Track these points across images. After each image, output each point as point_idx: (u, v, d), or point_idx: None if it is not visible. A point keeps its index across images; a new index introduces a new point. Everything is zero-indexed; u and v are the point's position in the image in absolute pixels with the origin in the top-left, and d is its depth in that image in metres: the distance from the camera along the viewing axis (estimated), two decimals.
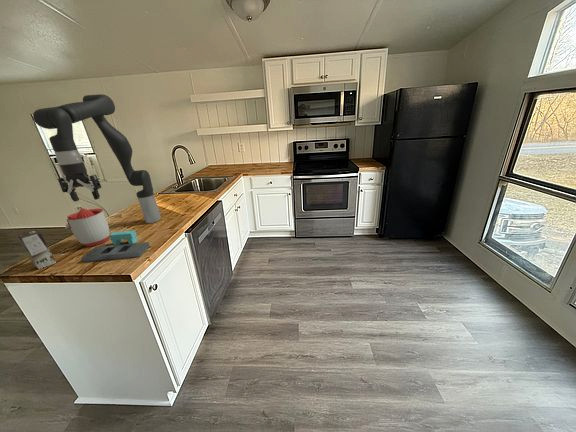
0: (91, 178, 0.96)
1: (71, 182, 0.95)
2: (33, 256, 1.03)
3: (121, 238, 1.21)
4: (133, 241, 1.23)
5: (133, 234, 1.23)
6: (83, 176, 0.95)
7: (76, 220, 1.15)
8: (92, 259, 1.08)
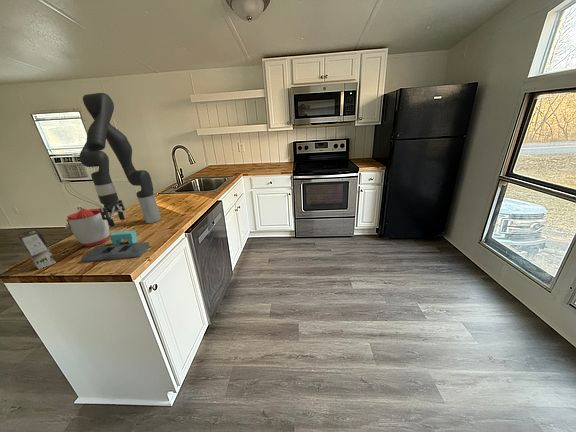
0: (121, 202, 1.22)
1: (113, 208, 1.15)
2: (33, 256, 1.03)
3: (121, 238, 1.21)
4: (133, 241, 1.23)
5: (133, 234, 1.23)
6: (117, 201, 1.19)
7: (76, 220, 1.15)
8: (92, 259, 1.08)
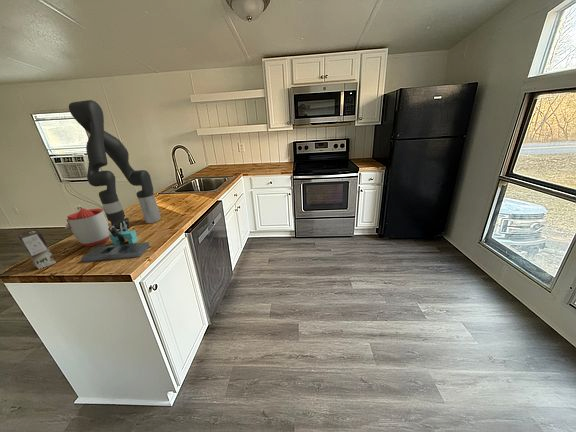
0: (127, 220, 1.26)
1: (121, 225, 1.19)
2: (33, 256, 1.03)
3: None
4: (133, 241, 1.23)
5: (133, 234, 1.23)
6: (123, 218, 1.23)
7: (76, 220, 1.15)
8: (92, 259, 1.08)
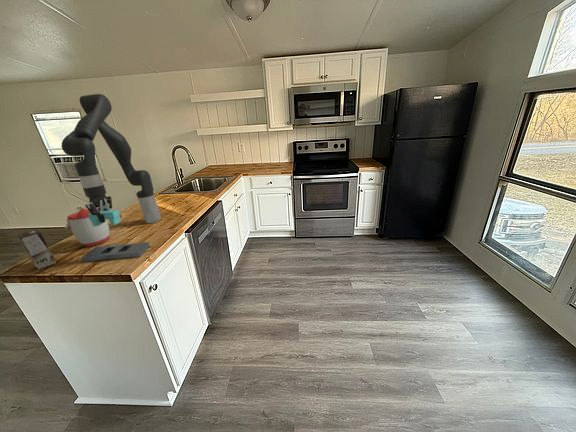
0: (110, 198, 1.12)
1: (101, 203, 1.05)
2: (33, 256, 1.03)
3: None
4: (115, 222, 1.09)
5: (116, 213, 1.09)
6: (105, 195, 1.09)
7: (76, 220, 1.15)
8: (92, 259, 1.08)
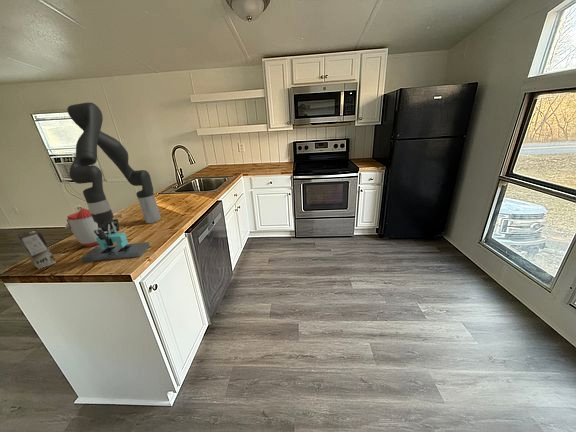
0: (117, 221, 1.13)
1: (109, 227, 1.07)
2: (33, 256, 1.03)
3: None
4: (123, 245, 1.11)
5: (123, 236, 1.11)
6: (112, 219, 1.11)
7: (76, 220, 1.15)
8: (92, 259, 1.08)
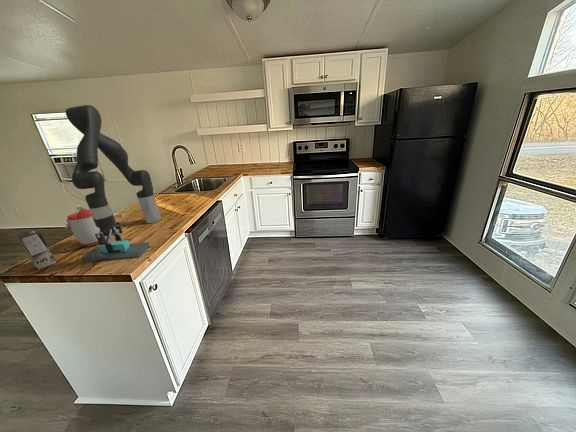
0: (118, 224, 1.14)
1: (110, 232, 1.07)
2: (33, 256, 1.03)
3: (113, 248, 1.10)
4: None
5: (126, 244, 1.13)
6: (114, 223, 1.11)
7: (76, 220, 1.15)
8: (92, 259, 1.08)
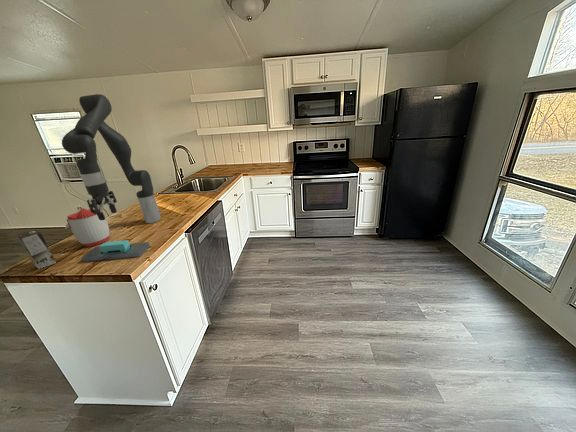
0: (112, 193, 1.11)
1: (103, 200, 1.04)
2: (33, 256, 1.03)
3: (113, 248, 1.10)
4: None
5: (126, 244, 1.13)
6: (107, 193, 1.08)
7: (76, 220, 1.15)
8: (92, 259, 1.08)
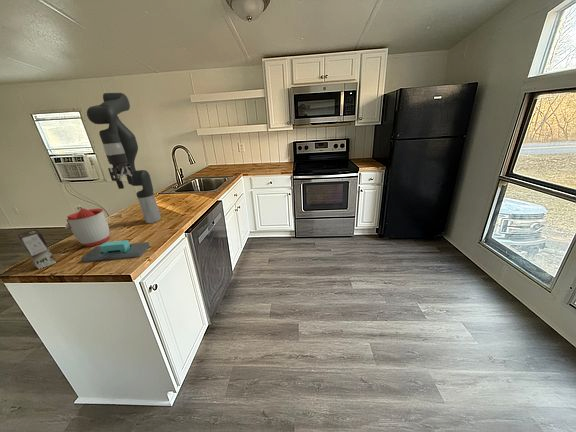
0: (130, 165, 1.18)
1: (122, 170, 1.11)
2: (33, 256, 1.03)
3: (113, 248, 1.10)
4: None
5: (126, 244, 1.13)
6: (125, 164, 1.15)
7: (76, 220, 1.15)
8: (92, 259, 1.08)
